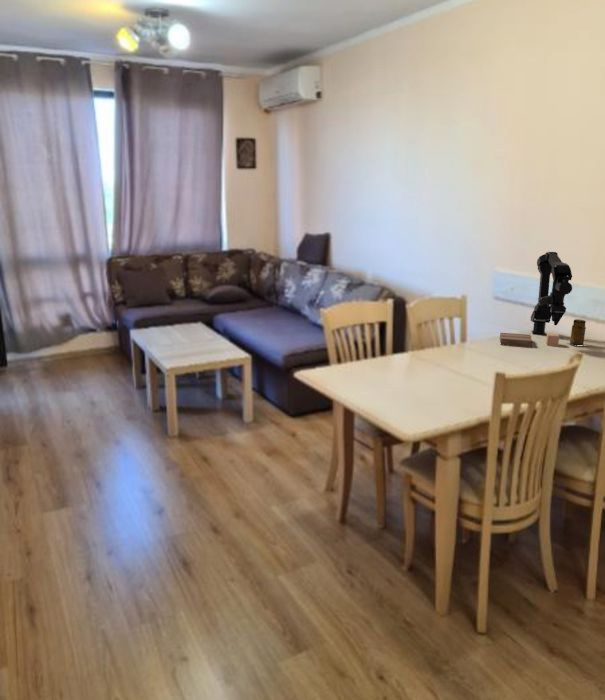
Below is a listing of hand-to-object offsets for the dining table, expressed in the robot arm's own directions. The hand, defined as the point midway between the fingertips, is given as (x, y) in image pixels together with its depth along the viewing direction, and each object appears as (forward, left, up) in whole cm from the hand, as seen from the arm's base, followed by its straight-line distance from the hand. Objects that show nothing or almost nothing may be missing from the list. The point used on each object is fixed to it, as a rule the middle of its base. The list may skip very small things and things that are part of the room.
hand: (554, 323), depth 289 cm
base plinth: (+2, -17, -11) cm, 20 cm away
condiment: (-4, +12, -11) cm, 17 cm away
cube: (0, 0, -11) cm, 11 cm away
